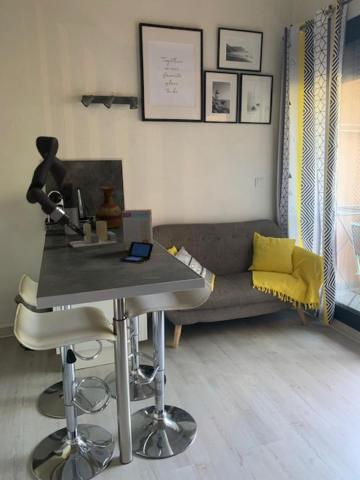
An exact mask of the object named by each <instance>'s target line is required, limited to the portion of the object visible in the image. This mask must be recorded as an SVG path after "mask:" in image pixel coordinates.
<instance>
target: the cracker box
mask: <svg viewBox="0 0 360 480" xmlns="http://www.w3.org/2000/svg"><path fill="white" fill-rule="evenodd" d="M152 212H153V211H152V208H151V209H147V208H146V209H124V210H121V213H122V217H123V221H122V225H123V226H122V228H123V241H124V243H123V244H124V252H126V251H129V249H130V245H131V243H132V242H142V243H152V244H153V245H154V233H153V218H152V217H153V216H152V215H153V213H152ZM153 250H154V247H153V248H152V251H153ZM126 253H127V252H126Z"/></svg>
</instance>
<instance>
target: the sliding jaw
mask: <svg viewBox="0 0 360 480" xmlns="http://www.w3.org/2000/svg"><path fill="white" fill-rule="evenodd" d="M82 226H83V230H82V231H83V233H84V234H85V236H84V237H83V239H84V240H83V241H84V242H86V243H99V242H98V235H97V233H94V232H92V225H91V224H90V223H83V225H82Z"/></svg>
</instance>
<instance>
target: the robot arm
mask: <svg viewBox="0 0 360 480" xmlns="http://www.w3.org/2000/svg"><path fill="white" fill-rule="evenodd" d="M35 147H36V149H37V151H38V153H39V155H40V157H41V158H42V161H41V162H40V163H39V164H38V165H37V166H36V168H35V169H34V170H33V174H32V178H31V182H30V184H29V187H28V189H27V192H26V195H25V199H26V201H27V202H28V203H29V204H32V205H35V204H37V203H38V204H39V205H40V209H41V210H42V212H43V213H45V214H46V215H47V216H48V217H49V218H50V219H52V220H53V221H54V222H55V223H56V224H58V226H60V227H64V234H65V235H69V236H70V235H79V236H80V237H81V238H84V236H85V234H84V231H83V230H81V229H80V220H79V209H78V188H77V184H76V183H75V182H67V183H66V182H63V181H65V178H66V176H67V168H66V167H65V164H64V162H63V161H62V160H61V159H60V158H58V157H57V153H58V150H59V148H60V147H59V139H58V138H57V137H54V136H47V135H45V136H44V135H42V136H41V135H40V136H37V137H36V139H35ZM49 173H50V175H51V177H52V178H53V180H54V183H55V185H56V187H57V190H58V193H59V195H60V197H62V198H70V200H69V201H67V202H65V203H63V204H62V207H60V206H58V205H57V204H56V203H55V202H54V201H52V200H51V198H50V197H49V196H48V194H46V192H45V191H44V190H43V189H44V187H45V185H46V182H47V179H48V175H49Z"/></svg>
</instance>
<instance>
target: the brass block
mask: <svg viewBox="0 0 360 480" xmlns="http://www.w3.org/2000/svg"><path fill="white" fill-rule="evenodd" d="M95 232H96V233H95V234H96V235H98V241H99V242H102V241H108V238H107V232H108V228H107V223H106V221H97V222H96V221H95Z"/></svg>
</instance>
